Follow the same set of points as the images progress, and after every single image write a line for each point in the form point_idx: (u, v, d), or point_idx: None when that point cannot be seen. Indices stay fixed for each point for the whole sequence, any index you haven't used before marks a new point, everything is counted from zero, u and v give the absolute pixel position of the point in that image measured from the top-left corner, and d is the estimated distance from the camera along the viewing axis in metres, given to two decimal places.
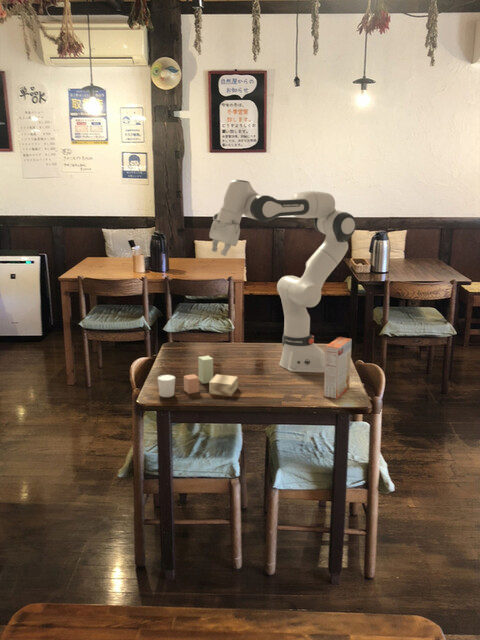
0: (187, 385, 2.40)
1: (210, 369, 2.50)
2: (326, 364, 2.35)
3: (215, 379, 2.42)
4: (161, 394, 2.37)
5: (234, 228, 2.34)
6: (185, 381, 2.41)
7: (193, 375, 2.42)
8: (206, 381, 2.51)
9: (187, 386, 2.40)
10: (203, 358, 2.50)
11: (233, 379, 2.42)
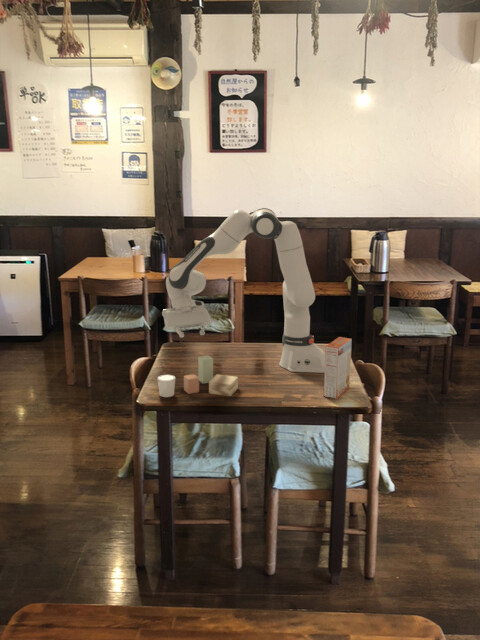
0: (187, 385, 2.40)
1: (210, 369, 2.50)
2: (326, 364, 2.35)
3: (215, 379, 2.42)
4: (161, 394, 2.37)
5: None
6: (185, 381, 2.41)
7: (193, 375, 2.42)
8: (206, 381, 2.51)
9: (187, 386, 2.40)
10: (203, 358, 2.50)
11: (233, 379, 2.42)
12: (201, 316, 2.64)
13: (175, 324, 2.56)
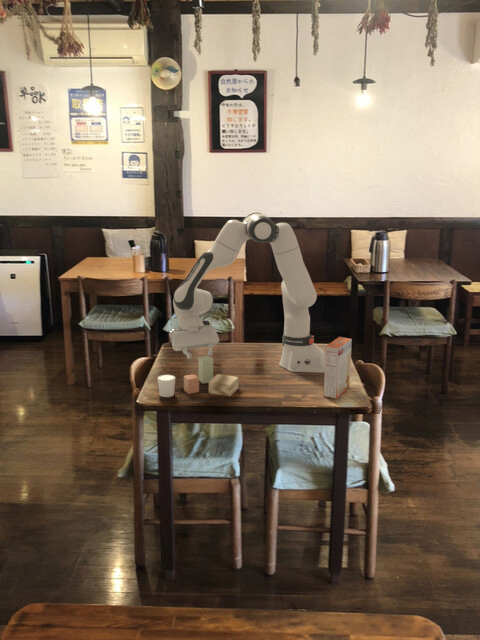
0: (187, 385, 2.40)
1: (210, 369, 2.50)
2: (326, 364, 2.35)
3: (215, 379, 2.42)
4: (161, 394, 2.37)
5: None
6: (185, 381, 2.41)
7: (193, 375, 2.42)
8: (206, 381, 2.51)
9: (187, 386, 2.40)
10: (203, 358, 2.50)
11: (233, 379, 2.42)
12: (209, 336, 2.59)
13: (182, 345, 2.53)
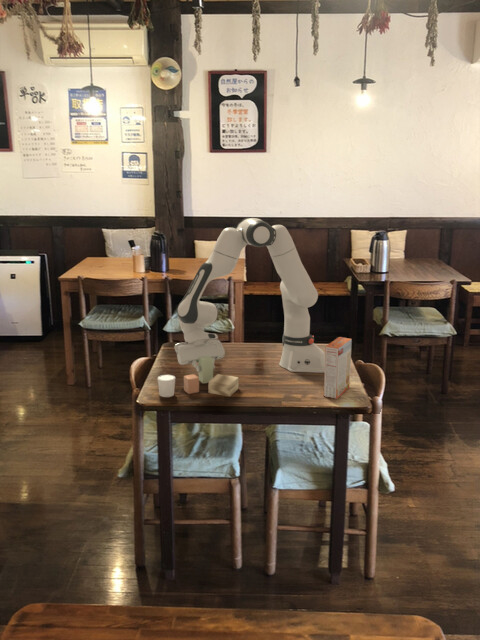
0: (187, 385, 2.40)
1: (210, 369, 2.50)
2: (326, 364, 2.35)
3: (215, 379, 2.42)
4: (161, 394, 2.37)
5: None
6: (185, 381, 2.41)
7: (193, 375, 2.42)
8: (206, 381, 2.51)
9: (187, 386, 2.40)
10: (203, 358, 2.50)
11: (233, 379, 2.42)
12: (215, 349, 2.56)
13: (188, 359, 2.49)
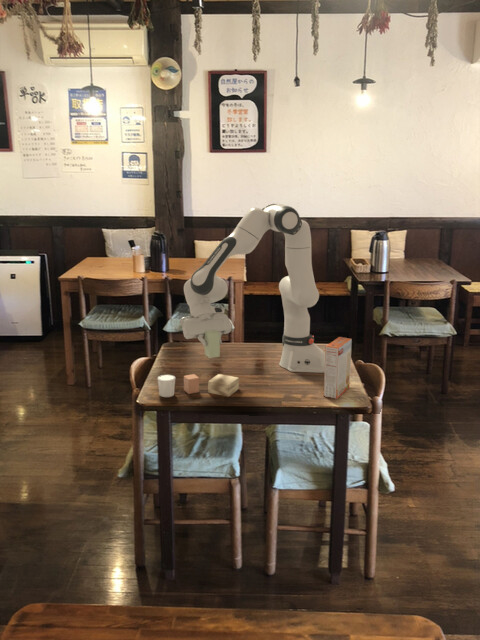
0: (187, 385, 2.40)
1: (217, 344, 2.44)
2: (326, 364, 2.35)
3: (215, 378, 2.42)
4: (161, 394, 2.37)
5: None
6: (185, 381, 2.41)
7: (193, 375, 2.42)
8: (212, 356, 2.44)
9: (187, 386, 2.40)
10: (209, 332, 2.43)
11: (233, 380, 2.41)
12: (221, 323, 2.49)
13: (194, 333, 2.42)
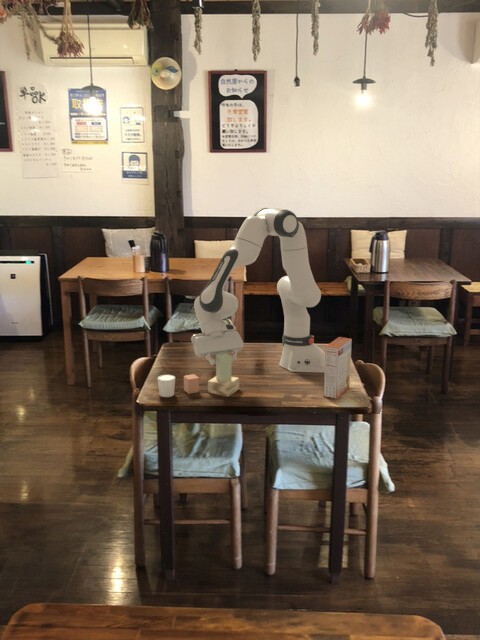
0: (187, 385, 2.40)
1: (229, 367, 2.39)
2: (326, 364, 2.35)
3: (215, 378, 2.42)
4: (161, 394, 2.37)
5: None
6: (185, 381, 2.41)
7: (193, 375, 2.42)
8: (224, 379, 2.40)
9: (187, 386, 2.40)
10: (221, 356, 2.38)
11: (233, 380, 2.41)
12: (233, 341, 2.44)
13: (205, 351, 2.37)
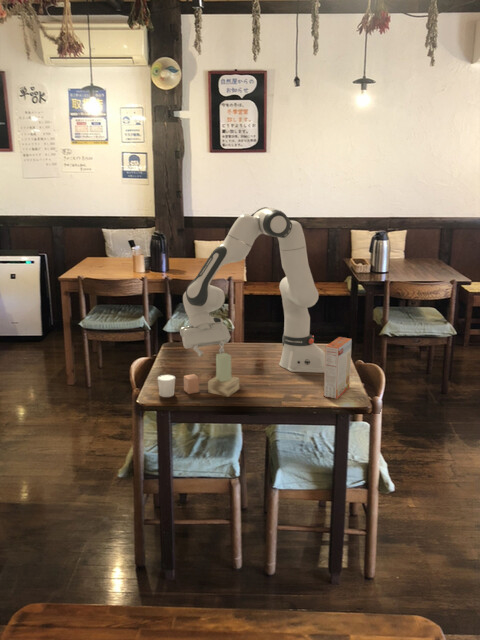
0: (187, 385, 2.40)
1: (228, 367, 2.39)
2: (326, 364, 2.35)
3: (215, 378, 2.42)
4: (161, 394, 2.37)
5: None
6: (185, 381, 2.41)
7: (193, 375, 2.42)
8: (224, 379, 2.39)
9: (187, 386, 2.40)
10: (221, 355, 2.39)
11: (233, 380, 2.41)
12: (220, 333, 2.53)
13: (193, 343, 2.47)
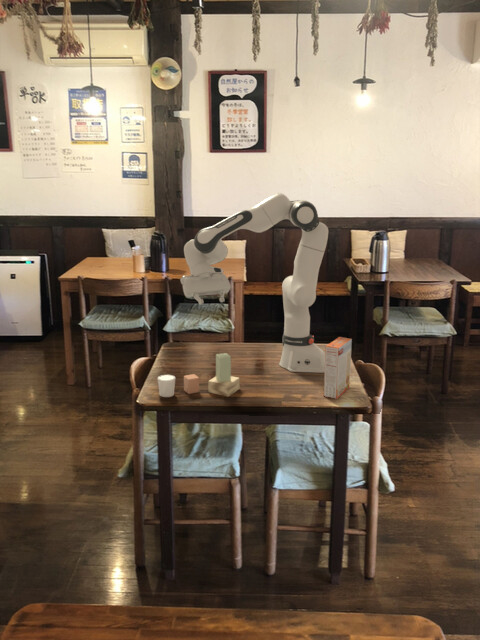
0: (187, 385, 2.40)
1: (228, 368, 2.39)
2: (326, 364, 2.35)
3: None
4: (161, 394, 2.37)
5: None
6: (185, 381, 2.41)
7: (193, 375, 2.42)
8: (223, 380, 2.39)
9: (187, 386, 2.40)
10: (220, 356, 2.38)
11: (233, 380, 2.41)
12: (220, 283, 2.56)
13: (194, 291, 2.49)
